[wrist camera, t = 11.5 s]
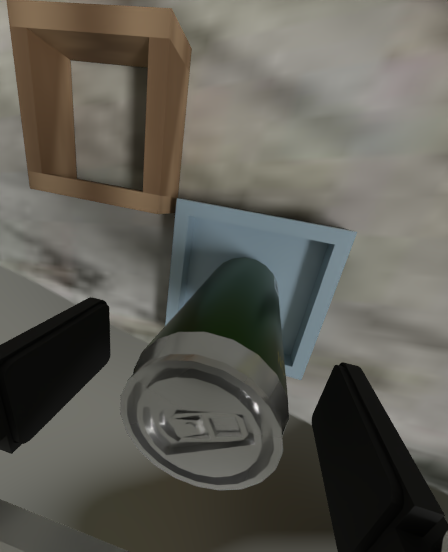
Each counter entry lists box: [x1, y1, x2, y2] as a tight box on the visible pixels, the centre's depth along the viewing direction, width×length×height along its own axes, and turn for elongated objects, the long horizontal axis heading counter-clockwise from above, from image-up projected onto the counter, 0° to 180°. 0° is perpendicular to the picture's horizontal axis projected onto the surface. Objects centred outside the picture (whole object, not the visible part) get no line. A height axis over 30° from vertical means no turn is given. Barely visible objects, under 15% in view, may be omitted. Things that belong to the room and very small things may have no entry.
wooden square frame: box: [7, 0, 192, 214], centre depth 15 cm, size 10×10×3 cm
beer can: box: [120, 257, 289, 490], centre depth 12 cm, size 5×5×12 cm
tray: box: [165, 198, 357, 380], centre depth 17 cm, size 12×12×2 cm
